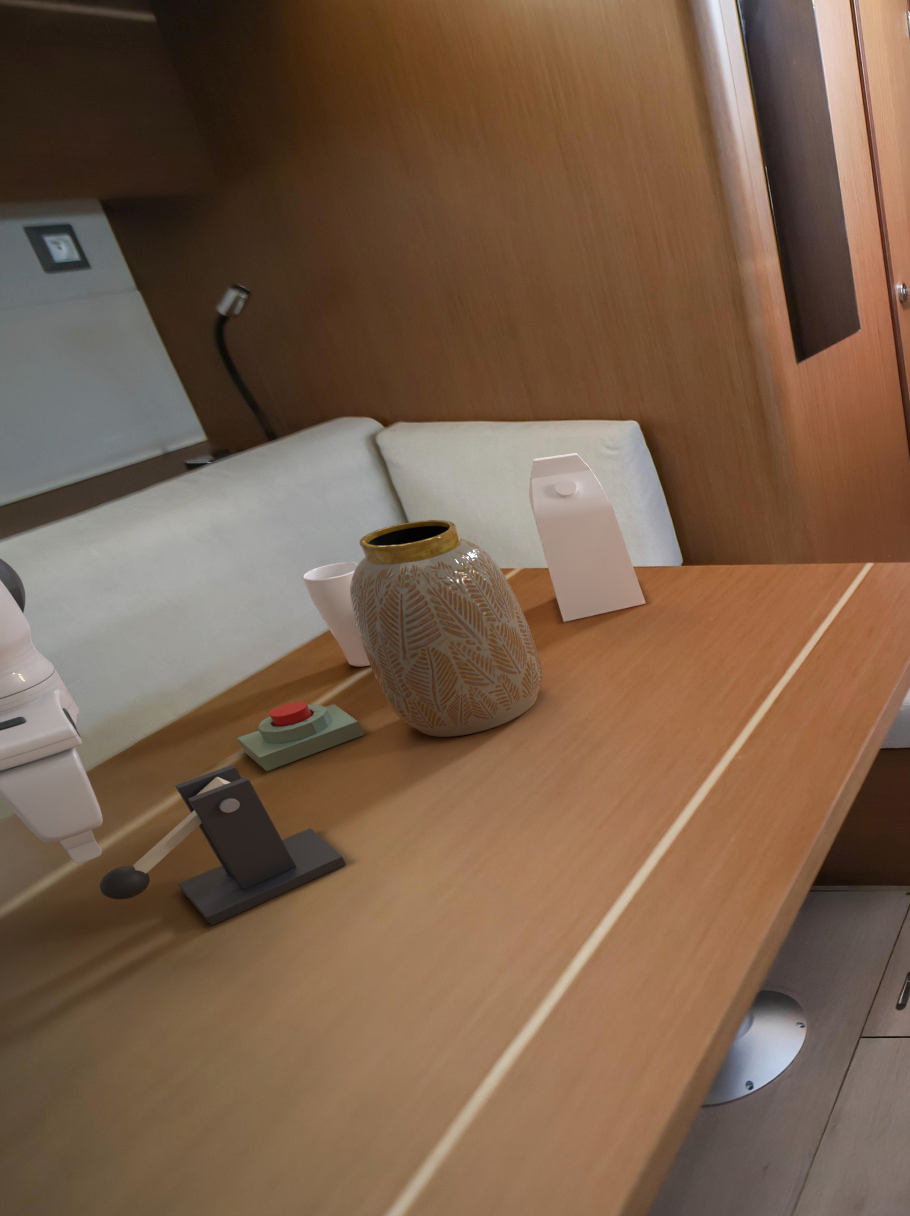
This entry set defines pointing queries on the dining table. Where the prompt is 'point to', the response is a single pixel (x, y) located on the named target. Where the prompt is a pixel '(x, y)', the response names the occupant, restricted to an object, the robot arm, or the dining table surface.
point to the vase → (443, 630)
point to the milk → (581, 539)
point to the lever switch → (150, 857)
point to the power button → (290, 714)
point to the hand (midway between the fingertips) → (73, 838)
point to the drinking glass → (337, 607)
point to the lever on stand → (247, 849)
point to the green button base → (299, 737)
